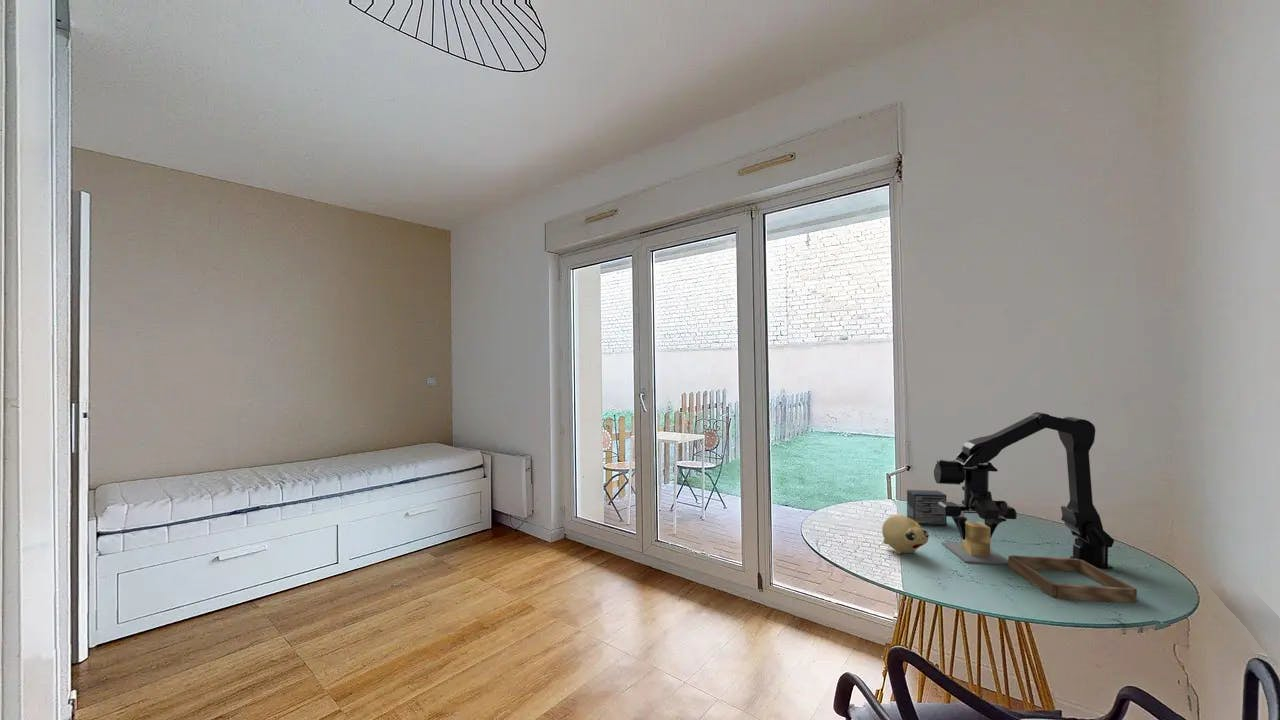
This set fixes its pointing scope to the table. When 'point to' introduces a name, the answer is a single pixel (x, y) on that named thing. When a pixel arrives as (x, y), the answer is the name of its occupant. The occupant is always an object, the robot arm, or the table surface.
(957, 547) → the mat
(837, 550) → the table surface
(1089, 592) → the wooden picture frame
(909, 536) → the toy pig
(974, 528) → the ochre block
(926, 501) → the small box
